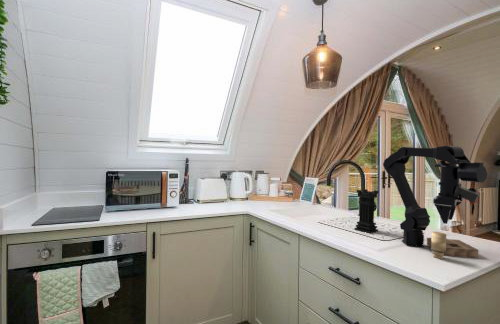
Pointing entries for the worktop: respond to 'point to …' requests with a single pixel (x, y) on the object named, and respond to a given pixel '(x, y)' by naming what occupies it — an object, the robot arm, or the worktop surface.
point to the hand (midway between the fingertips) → (447, 221)
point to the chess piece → (366, 211)
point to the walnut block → (458, 248)
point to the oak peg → (438, 244)
